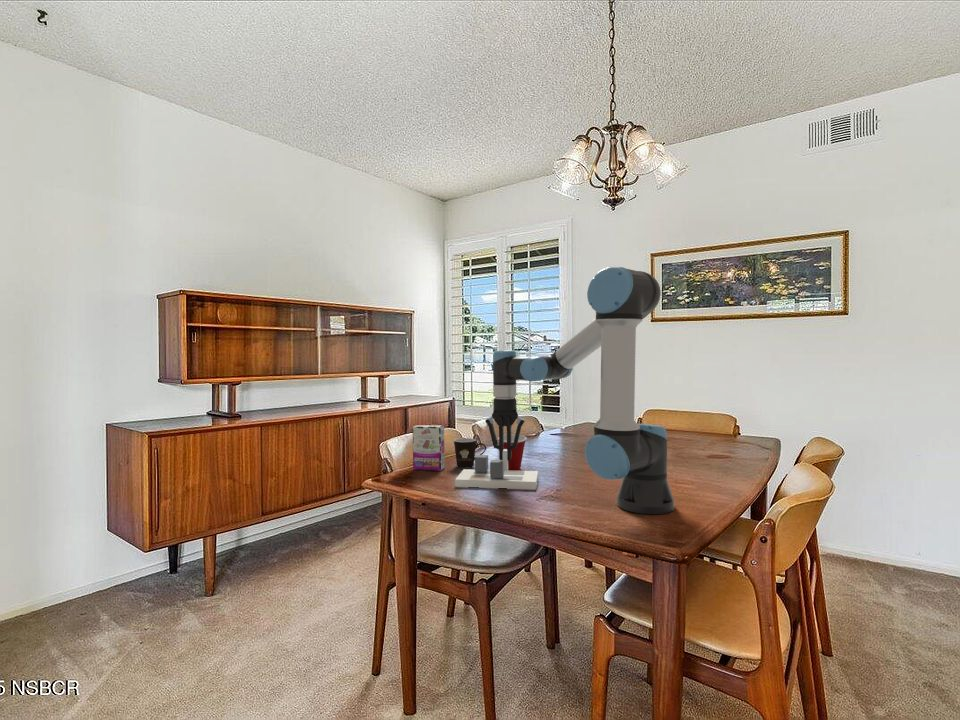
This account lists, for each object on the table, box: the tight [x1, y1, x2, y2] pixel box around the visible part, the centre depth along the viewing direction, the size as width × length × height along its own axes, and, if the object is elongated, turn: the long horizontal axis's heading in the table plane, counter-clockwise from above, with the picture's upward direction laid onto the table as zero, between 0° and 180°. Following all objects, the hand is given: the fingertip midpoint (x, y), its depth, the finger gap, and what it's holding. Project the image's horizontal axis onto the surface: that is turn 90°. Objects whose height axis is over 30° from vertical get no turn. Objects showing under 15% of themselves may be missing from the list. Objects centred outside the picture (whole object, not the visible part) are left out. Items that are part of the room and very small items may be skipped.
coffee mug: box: [453, 437, 487, 468], centre depth 190 cm, size 12×9×10 cm
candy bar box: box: [411, 424, 446, 472], centre depth 186 cm, size 11×5×16 cm, turn 76°
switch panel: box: [454, 468, 539, 491], centre depth 166 cm, size 14×26×3 cm, turn 81°
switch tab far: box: [474, 454, 489, 472], centre depth 170 cm, size 4×4×5 cm
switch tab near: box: [489, 459, 504, 478], centre depth 162 cm, size 4×4×5 cm
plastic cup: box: [497, 433, 528, 471], centre depth 185 cm, size 11×11×12 cm
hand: (505, 469), depth 162 cm, fingers closed
